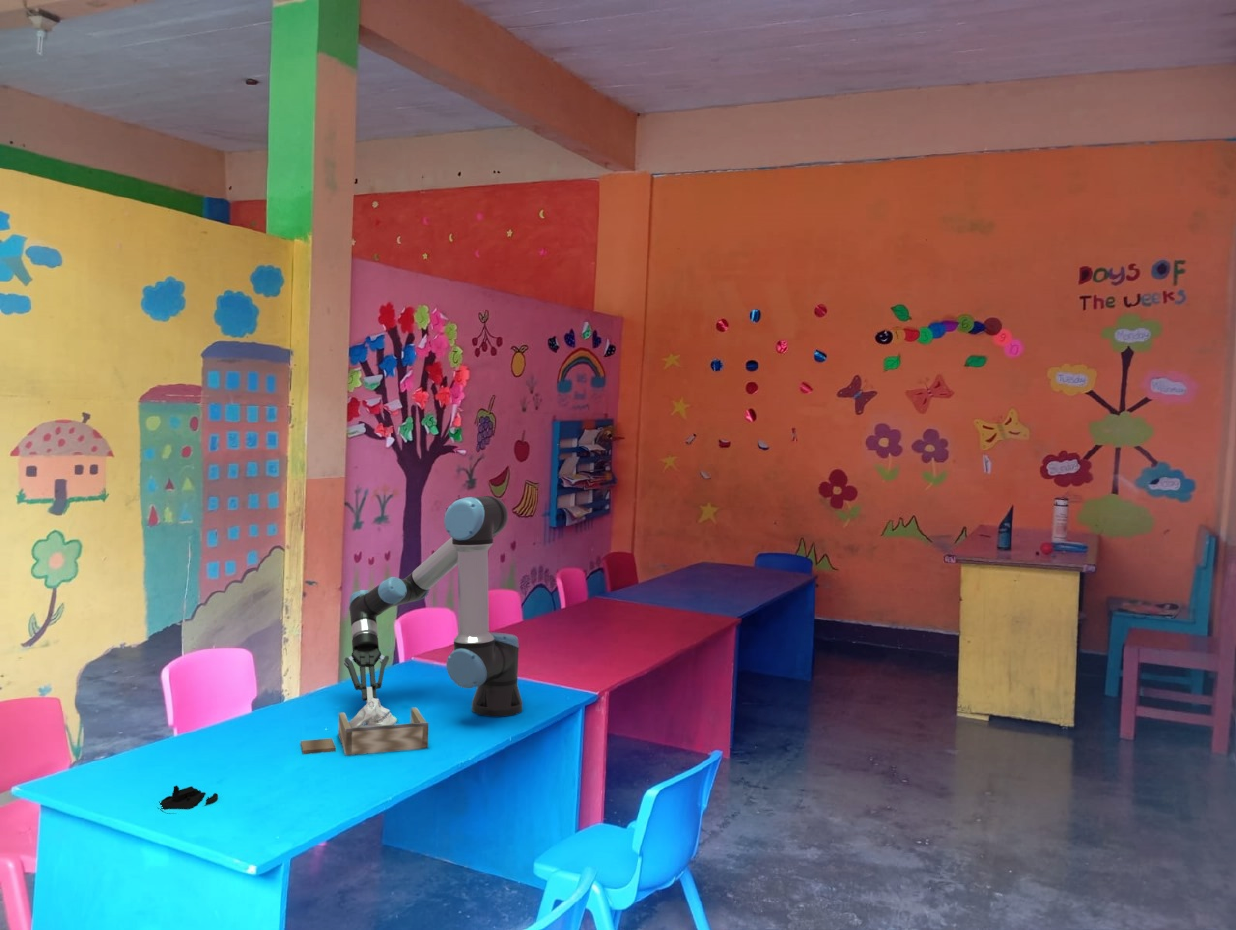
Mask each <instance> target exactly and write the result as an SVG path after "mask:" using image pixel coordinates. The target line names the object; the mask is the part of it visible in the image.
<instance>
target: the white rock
mask: <svg viewBox="0 0 1236 930" xmlns="http://www.w3.org/2000/svg"><path fill="white" fill-rule="evenodd" d="M390 711H391V710H390V709H388V708H386V707H384V706H383V705H381V701H380V699H379V698H376V699H375V698H372V699H371V700H370V701H369V702H368V703H366V704H365V705H364V706H363V707H362V708H361V709H359V711H358V712H357V714H355V716H354V717H352V719H351V720H350V721H348V722H349V725H350V727H351V728H357V727H371V726H384V725H396V724H398V723H399V718H397V717H396V715H394V714H392V713H391V712H390Z"/></svg>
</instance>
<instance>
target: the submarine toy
mask: <svg viewBox="0 0 1236 930" xmlns="http://www.w3.org/2000/svg"><path fill="white" fill-rule="evenodd" d="M206 795H207V793H206V792H202V791H201V790H199V789H197V788H195V787H194V786H193V785H191V786H189V787H184V788H182V789H180V788H179V786H178V785H177V784H176V785H175V786H173V791H172V793H171V795H168V796H166V797H164V799H162V800H161V803H160V802H159V803H160V804H159V805H162V806H160V808H161V809H160V808H159V807H157V809H158V810H159V809H160V811H161V812H162V813H165V814H169V815H171V814H173V815H174V814H175V815H176V814H177V813H174V812H173V813H170V812H169V813H168V812H165V811H166V810H192V809H194V808H195V807H197V806H198V805H199V804H200V803H201V802H203V799H204V798H205V796H206ZM205 799H206V800H205V804H204V805H202V807H206V806H208V805H212V804H214V803H216V802H218V799H219V794H218V793H217V792H214V793H213V794H212V795H211V796H210V797H209V796H207V797H206V798H205ZM162 807H163V808H162ZM163 809H164V810H163Z"/></svg>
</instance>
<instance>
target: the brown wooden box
mask: <svg viewBox="0 0 1236 930" xmlns="http://www.w3.org/2000/svg"><path fill="white" fill-rule="evenodd" d="M349 722H350V721H349V720H348V717H347V715H346V713H345V712H338V729H337V730H338V734H337V735H338V737H340V738H339V740H340V744H341V743H342V744H341V747H342V746H343V747H342V749H343V752H344V755H345V756H354V755H355V754H356V755H366V754H367V753H368V754H376V753H389V752H390V753H391V752H399V751H400V752H402V751H413V750H414V751H415V750H423V749H424V750H426V748H427V749H428V748H429V722H428V721H427V722H426V720H425V718H424V717H423V715H422V714H421V712H420V710H419V709H418V708H417V707H411V709H410V723H401V724H400V723H399V724H398V723H396V724H394V725H384V726H371V727H357V728H351V727H350V725H349Z"/></svg>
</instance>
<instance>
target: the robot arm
mask: <svg viewBox="0 0 1236 930" xmlns="http://www.w3.org/2000/svg"><path fill="white" fill-rule="evenodd" d="M508 520H509V513H508V507H506V505H505V503H504V502H503V500H501V499H499V498H498V497H495V496H492V495H484V496H473V497H471V496H468V497H464V498H460V499H457V500H454V502H453V503H451V504H450V505H449V507H448V508H447V510H446V511H445V514H444V527H445V531H446V532H447V533H448V535H449V536H450V538H449V539H447V540H446V541H445V542H444V543H443V544H442V545H441V546H440V547H439V548H438V549H437V550H435V551H434V552H432V554H431V555H429V557H427V558H426V559H425V560H424V561H423V562H421V563H420V565H419V566H417V567H416V568H415V569H414V570H413V571H412V572H411V573H410V574H409V575H407V576H406V577H405V578H398V577H396V576H391V577H389V578H387V579H385V580H383V581H381V583H379V584H378V585H377V586H375V587H374V588H372V589H371V590H367V589H360V590H359V591H357V590H356V591H354V592H353V593H352V594H351V595H350V598H349V605H348V606H349V607H348V608H349V616H350V626H351V627H350V628H351V644H352V645H351V647H352V652H351V655H350V656H348V657H345V658H344V661H343V665H344V666H345V667H346V668H347V671H348V673H349V675H350V678H351V679H350V680H351V681H352V684H353V686H354V690H356V691H359V690H360V693H361V699H362V701H365V702H366V704H367V703H368V702H369V701H370V700H371V699H372V698H375V699H377V690H378V689H381V688H382V685H383V680H384V674H385V670H386V667H387V665H388V663H389V659H390V656H389V655H383V654H382V652H381V651H380V647H379V638H378V636H379V635H378V623H377V617H378V616H379V615H381V614H383V613H384V612H386V611H387V610H389V609H390V608H393V607H398V606H400V605H404V604H405V605H406V604H410V603H413V602H418V601H420V600H423V599H425V598H426V597H427V596H428V595H429V593H430V590H431V588H433V586H435V585H436V584H437V583H438V582H439V581H440V580H441V579H442V578H444V577H445V576H446V575H447V574H448V573H450V571H452V570H453V569H454V568H455V567H457V577H458V578H457V579H458V580H457V581H458V582H457V583H458V584H457V585H458V586H457V591H458V593H457V594H458V596H457V597H458V634H457V635H456V636H455V637H454V638H453V650H452V651H451V652H450V655H448V657H447V660H446V671H447V674H448V676H449V678H450V679H451V680H452V681H453V683H454V684H455V685H456V686H458V687H460V688H464V689H473V688H476V691H475V693H474V695H473V698H472V701H471V711H472V712H473V713H474V712H475V713H474V714H476V713H477V715H479V714H480V716H484V715H486V716H485V717H494V716H500V717H509V716H510V717H511V716H515V715H517V714H520V713H521V712H522V711H523V700H522V696H521V692H520V689H519V686H518V677H519V676H518V674H519V651H520V650H519V649H520V646H519V638H518V637H517V636H516V635H515V634H512V633H511V634H509V633H502V632H490V614H489V612H490V611H489V610H490V608H489V607H490V606H489V605H490V603H489V601H490V600H489V549H490V548H491V547H492V546H493V544H494V538H495V537H496V536H497V535H499V534H500V533H501V532H503V530H504V528H505V527H506V526H507V524H508ZM378 661H379V663H380V669H379V674H378V680H377V682H376V669H375V665H376V664H377V662H378ZM354 663H355V664H356V665H357V666H358V667H359V672H360V673H359V674H360V680H359V677H358V674H357V671H356V668H355V665H354ZM366 668H368V671H369V673H368V674H369V684H370V685H369V686H368V685H367V674H366V673H367V672H366Z"/></svg>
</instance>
